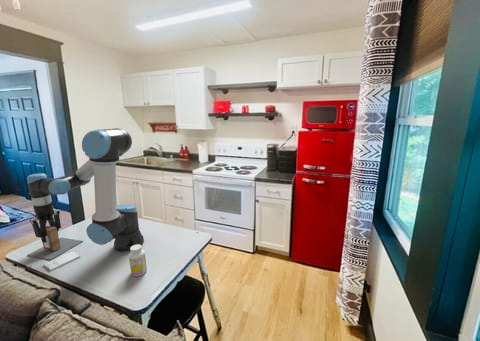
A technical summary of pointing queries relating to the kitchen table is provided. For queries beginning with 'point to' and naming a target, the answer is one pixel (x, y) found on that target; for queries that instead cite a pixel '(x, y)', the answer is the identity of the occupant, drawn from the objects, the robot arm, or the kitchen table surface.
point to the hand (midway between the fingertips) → (51, 244)
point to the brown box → (52, 238)
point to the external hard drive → (61, 261)
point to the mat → (50, 255)
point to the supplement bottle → (137, 260)
